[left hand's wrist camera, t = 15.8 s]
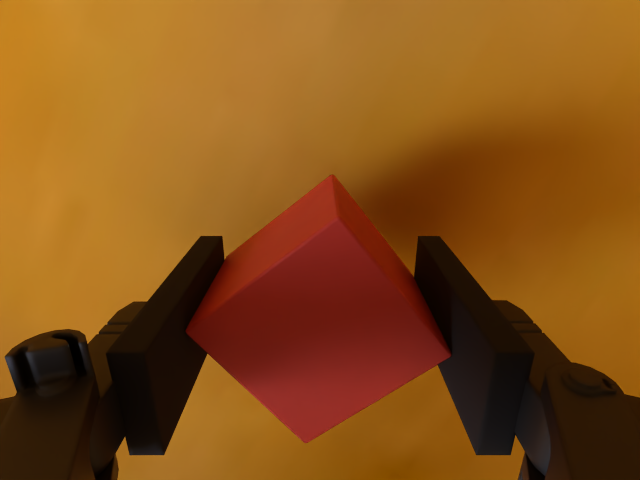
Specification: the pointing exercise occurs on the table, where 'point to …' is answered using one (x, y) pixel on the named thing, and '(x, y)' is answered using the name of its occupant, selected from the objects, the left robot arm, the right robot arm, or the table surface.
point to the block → (318, 315)
